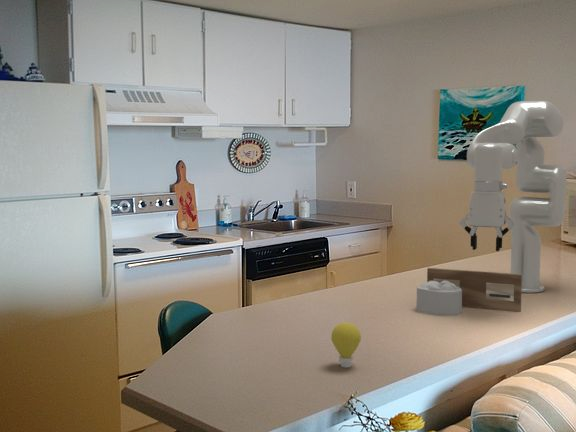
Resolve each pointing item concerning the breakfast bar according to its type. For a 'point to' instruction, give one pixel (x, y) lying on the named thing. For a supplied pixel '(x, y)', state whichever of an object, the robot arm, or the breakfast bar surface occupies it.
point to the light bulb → (346, 342)
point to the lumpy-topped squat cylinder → (439, 298)
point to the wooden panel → (483, 287)
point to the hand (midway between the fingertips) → (486, 249)
